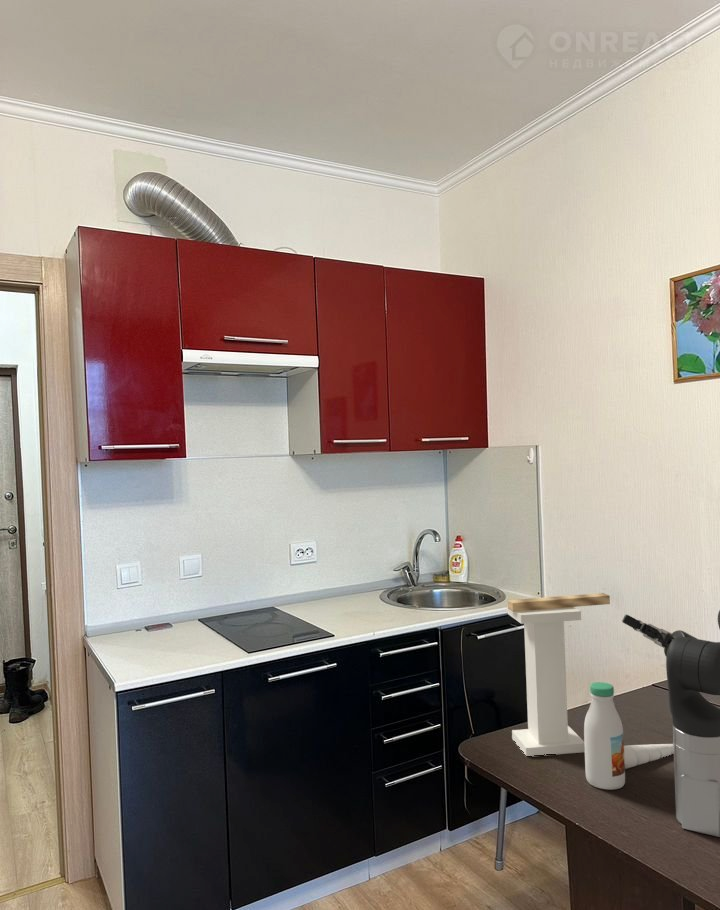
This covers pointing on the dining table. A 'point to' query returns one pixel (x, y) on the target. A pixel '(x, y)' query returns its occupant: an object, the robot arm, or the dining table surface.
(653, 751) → the unicorn horn
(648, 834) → the dining table surface
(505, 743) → the dining table surface
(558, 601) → the slat
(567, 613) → the stand
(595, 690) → the milk bottle
